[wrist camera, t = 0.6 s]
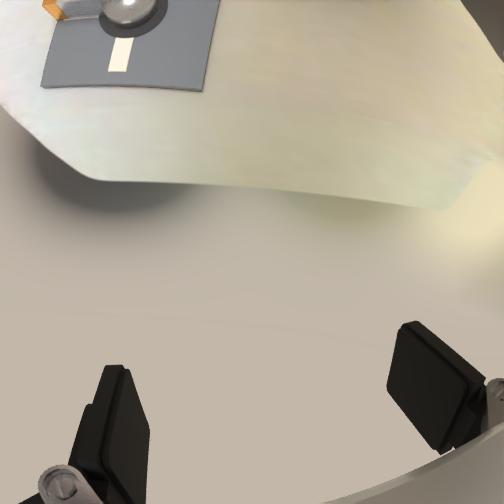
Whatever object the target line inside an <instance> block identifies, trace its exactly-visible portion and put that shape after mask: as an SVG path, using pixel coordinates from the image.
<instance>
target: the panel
mask: <svg viewBox="0 0 504 504" xmlns="http://www.w3.org/2000/svg"><path fill="white" fill-rule="evenodd" d="M219 1H220V0H157V2H158V6H157V10H156V12H155V14H154V16H153V17H152V18H151V19H150V20H149V21H148V22H146V23H145V24H143V25H141V26H139V27H136V28H133V29H121V28H117V27H115V26H114V25H113V24H112V23H111V22H110V21H109V19H108V17H107V16H106V15H100V16H86V17H76V18H69V19H61V20H58V21H57V24H56V27H55V30H54V33H53V37H52V40H51V44H50V47H49V51H48V55H47V59H46V63H45V67H44V71H43V76H42V80H41V85H40V87H43V88H54V87H75V86H131V87H153V88H168V89H181V90H191V91H202V85H203V80H204V74H205V69H206V63H207V58H208V53H209V48H210V43H211V38H212V33H213V28H214V23H215V19H216V14H217V10H218V5H219Z"/></svg>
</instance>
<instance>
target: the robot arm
mask: <svg viewBox="0 0 504 504" xmlns="http://www.w3.org/2000/svg"><path fill="white" fill-rule="evenodd" d="M485 379H486V378H485V377H484V376H483V375H482V374H481V373H480V372H478V371H477V370H476V369H475V368H474V367H473V366H472V365H470V364H469V363H468V362H467V361H466V360H465V359H463V358H462V357H461V356H460V355H459V354H458V353H456V352H455V351H454V350H453V349H452V348H450V347H449V346H448V345H447V344H446V343H444V342H443V341H442V340H441V339H440V338H438V337H437V336H436V335H435V334H434V333H432V332H431V331H430V330H429V329H427V328H426V327H425V326H424V325H422V324H421V323H420V322H419V321H413V322H409V323H404V324H403V325H402V326H401V328H400V329H399V330H398V333H397V339H396V344H395V348H394V353H393V358H392V363H391V367H390V372H389V376H388V380H387V391H388V393H389V394H390V395H391V397H392V398H393V399H394V401H395V402H396V403H397V405H398V406H399V407H400V408H401V410H402V411H403V412H404V413H405V415H406V416H407V417H408V419H409V420H410V421H411V422H412V423H413V425H414V426H415V428H416V429H417V430H418V431H419V433H420V434H421V435H422V437H423V438H424V439H425V440H426V442H427V443H428V444H429V446H430V447H431V448H432V449H434V450H437V452H438V453H439V454H440V455H442V454H444V453H446V452H448V451H449V450H451V449H452V447H454V448H455V450H453V451H451V452H450V453H448V454H446V455H444V456H442V457H440V458H438V459H436V460H434V461H432V462H430V463H428V464H426V465H424V466H422V467H420V468H418V469H415V470H413V471H411V472H409V473H406V474H404V475H402V476H399V477H397V478H395V479H392V480H390V481H387V482H385V483H382V484H380V485H377V486H374V487H372V488H369V489H366V490H364V491H360V492H357V493H354V494H352V495H348V496H345V497H342V498H339V499H336V500H332V501H329V502H325V503H321V504H504V379H503V378H496V379H493V380H491V381H490V382H488V384H487V386H485V385H484V381H485ZM149 438H150V429H149V425H148V422H147V419H146V417H145V414H144V411H143V408H142V405H141V402H140V399H139V396H138V394H137V391H136V388H135V385H134V382H133V378H132V375H131V372H130V370H129V369H125V368H124V367H123V365H106V366H105V367H104V370H103V373H102V376H101V379H100V382H99V385H98V388H97V391H96V394H95V397H94V400H93V403H92V404H88V405H86V407H85V409H84V412H83V415H82V419H81V421H80V425H79V428H78V431H77V434H76V438H75V441H74V445H73V448H72V451H71V455H70V458H69V462H68V465H56V466H53V467H50V468H48V469H47V470H46V471H44V473H43V474H42V475H41V476H40V479H39V481H38V489H39V493H37V494H35V495H34V496H32V497H30V498H28V499H26V500H24V501H23V502H21V503H19V504H146V483H147V466H148V451H149Z"/></svg>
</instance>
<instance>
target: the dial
mask: <svg viewBox="0 0 504 504" xmlns="http://www.w3.org/2000/svg"><path fill="white" fill-rule="evenodd" d="M42 6H43V7H44V8H45V9H46V10H47V11H48V12H49V13H50V14H51V15H52V16H53V17H54V18H55V19H56V20H61V19H69V18H76V17H86V16H100V15H106V16H107V17H108V19H109V21H110V22H111V23H112V24H113V25H114V26H115V27H117V28H121V29H133V28H136V27H139V26H141V25H143V24H145V23H146V22H148V21H149V20H150V19H151V18H152V17H153V16H154V14H155V12H156V10H157V6H158V2H157V0H44V1H43V4H42Z"/></svg>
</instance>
